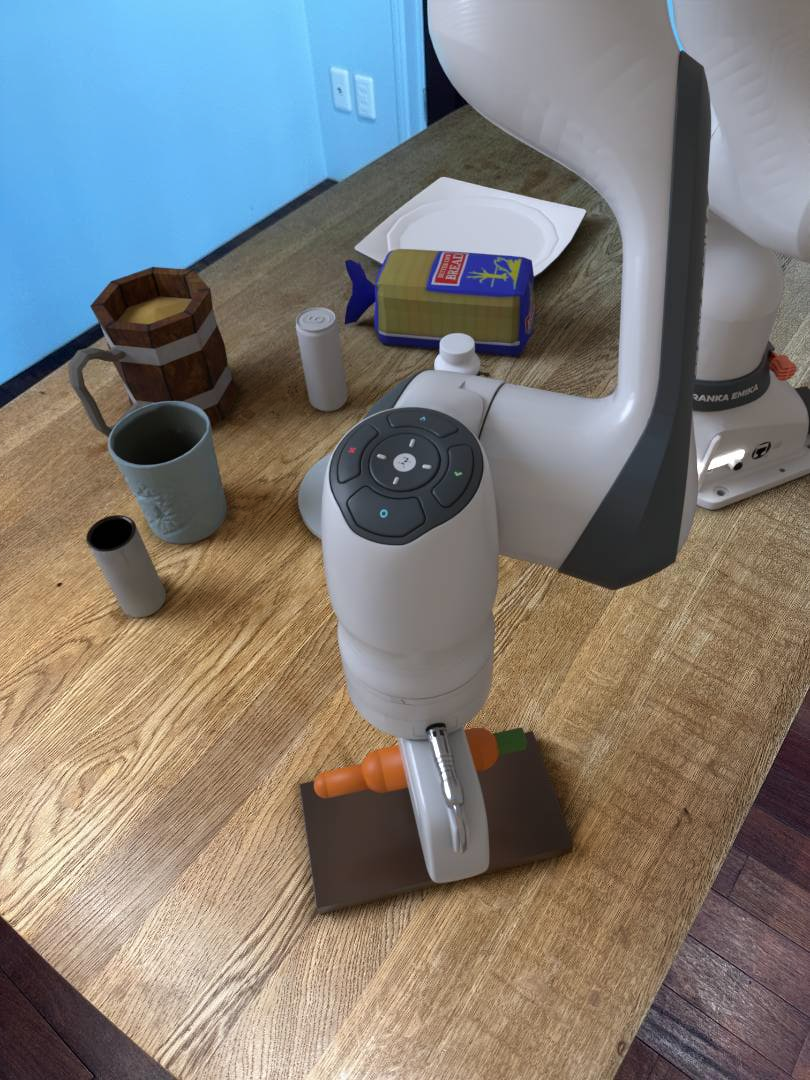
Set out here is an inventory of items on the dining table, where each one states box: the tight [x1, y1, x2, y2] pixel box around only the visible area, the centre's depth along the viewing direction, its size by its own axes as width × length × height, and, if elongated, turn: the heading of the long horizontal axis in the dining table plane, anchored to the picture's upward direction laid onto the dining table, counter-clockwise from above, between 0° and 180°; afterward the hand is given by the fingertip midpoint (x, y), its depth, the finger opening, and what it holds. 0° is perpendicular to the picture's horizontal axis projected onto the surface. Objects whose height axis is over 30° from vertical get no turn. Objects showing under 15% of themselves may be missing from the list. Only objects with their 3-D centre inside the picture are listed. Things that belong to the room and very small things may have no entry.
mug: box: [67, 266, 239, 438], centre depth 96 cm, size 20×14×15 cm
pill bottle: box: [433, 333, 481, 376], centre depth 95 cm, size 5×5×10 cm
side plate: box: [297, 451, 333, 540], centre depth 89 cm, size 16×16×1 cm
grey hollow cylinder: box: [85, 514, 167, 619], centre depth 78 cm, size 4×4×10 cm
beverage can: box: [295, 307, 349, 413], centre depth 97 cm, size 5×5×12 cm
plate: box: [353, 176, 587, 279], centre depth 123 cm, size 29×29×3 cm
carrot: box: [313, 726, 527, 798], centre depth 57 cm, size 15×3×3 cm, turn 102°
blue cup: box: [107, 401, 228, 545], centre depth 85 cm, size 10×10×12 cm
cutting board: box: [298, 730, 575, 915], centre depth 65 cm, size 20×10×2 cm, turn 102°
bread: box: [344, 249, 537, 358], centre depth 106 cm, size 10×25×10 cm, turn 77°
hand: (425, 765), depth 58 cm, fingers closed on carrot, 3 cm apart
